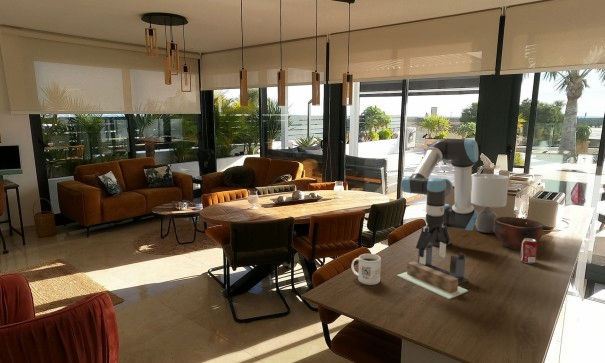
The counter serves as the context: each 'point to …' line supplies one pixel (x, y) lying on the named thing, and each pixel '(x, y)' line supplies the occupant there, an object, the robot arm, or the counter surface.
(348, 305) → the counter surface
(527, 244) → the soda can
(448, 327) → the counter surface
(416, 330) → the counter surface
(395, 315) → the counter surface
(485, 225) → the lamp
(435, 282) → the rail
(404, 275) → the mat
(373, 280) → the mug
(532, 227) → the bowl
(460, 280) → the rack
